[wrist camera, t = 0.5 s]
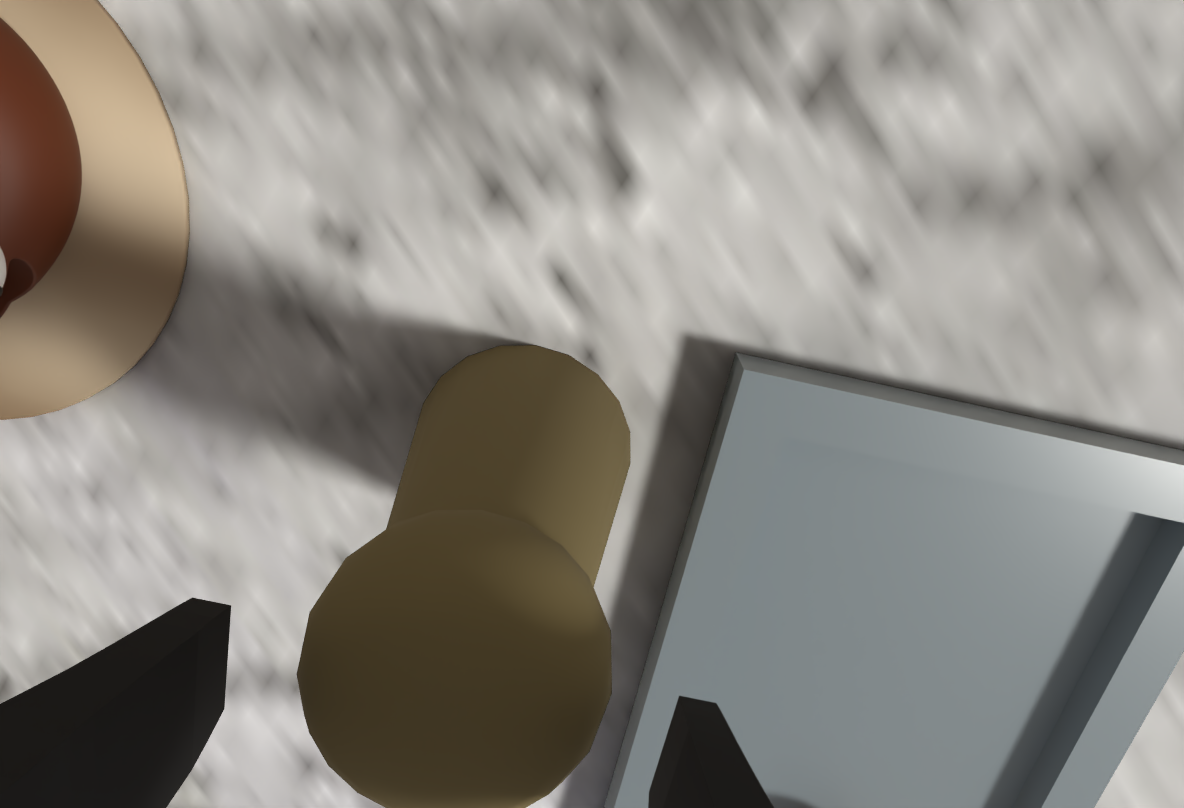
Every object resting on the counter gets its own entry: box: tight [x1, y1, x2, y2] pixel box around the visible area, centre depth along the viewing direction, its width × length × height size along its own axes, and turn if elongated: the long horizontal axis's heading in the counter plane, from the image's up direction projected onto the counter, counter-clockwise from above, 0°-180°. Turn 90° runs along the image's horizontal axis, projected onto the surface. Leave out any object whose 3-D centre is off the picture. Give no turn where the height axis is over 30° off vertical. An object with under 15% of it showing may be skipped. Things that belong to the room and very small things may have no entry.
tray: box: [604, 353, 1184, 808], centre depth 24 cm, size 20×14×2 cm
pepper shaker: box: [297, 345, 630, 808], centre depth 17 cm, size 6×6×11 cm
